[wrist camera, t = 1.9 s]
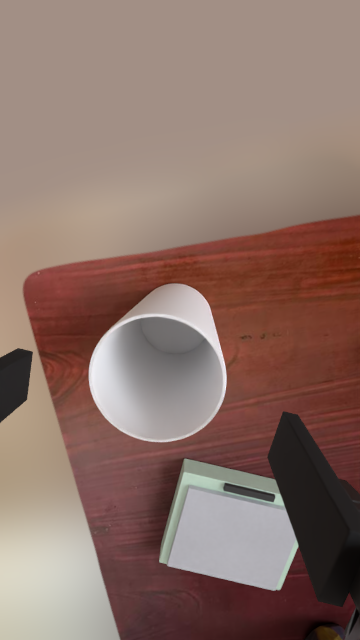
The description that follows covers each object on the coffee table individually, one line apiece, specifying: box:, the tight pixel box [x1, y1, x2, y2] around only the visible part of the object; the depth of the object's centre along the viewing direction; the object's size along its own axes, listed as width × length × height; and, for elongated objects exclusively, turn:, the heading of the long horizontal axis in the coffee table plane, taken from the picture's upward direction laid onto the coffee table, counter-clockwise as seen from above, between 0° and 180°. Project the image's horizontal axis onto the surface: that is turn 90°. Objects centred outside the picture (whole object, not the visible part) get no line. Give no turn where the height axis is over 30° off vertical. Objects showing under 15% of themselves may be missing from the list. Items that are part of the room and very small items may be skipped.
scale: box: [159, 458, 298, 591], centre depth 37 cm, size 16×14×3 cm
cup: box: [89, 283, 226, 442], centre depth 25 cm, size 8×8×16 cm
